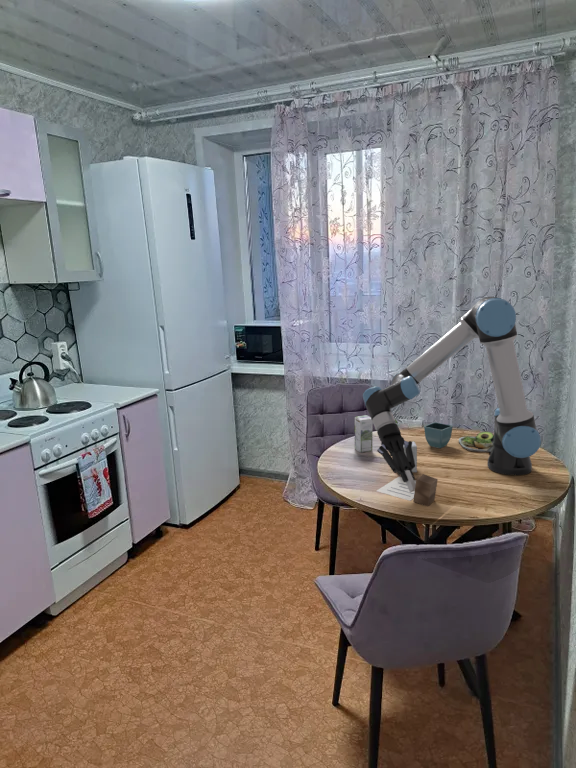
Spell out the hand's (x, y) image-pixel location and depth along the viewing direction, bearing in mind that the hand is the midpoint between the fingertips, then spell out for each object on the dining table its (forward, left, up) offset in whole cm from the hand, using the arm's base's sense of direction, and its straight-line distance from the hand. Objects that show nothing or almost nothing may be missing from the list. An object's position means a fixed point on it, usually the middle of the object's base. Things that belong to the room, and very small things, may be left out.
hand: (413, 490), depth 166 cm
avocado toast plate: (+3, -64, -4) cm, 65 cm away
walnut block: (-3, 0, -3) cm, 5 cm away
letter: (+7, -6, -4) cm, 10 cm away
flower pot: (+17, -53, -4) cm, 56 cm away
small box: (+15, -21, -4) cm, 26 cm away
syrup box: (+40, -31, -4) cm, 51 cm away
